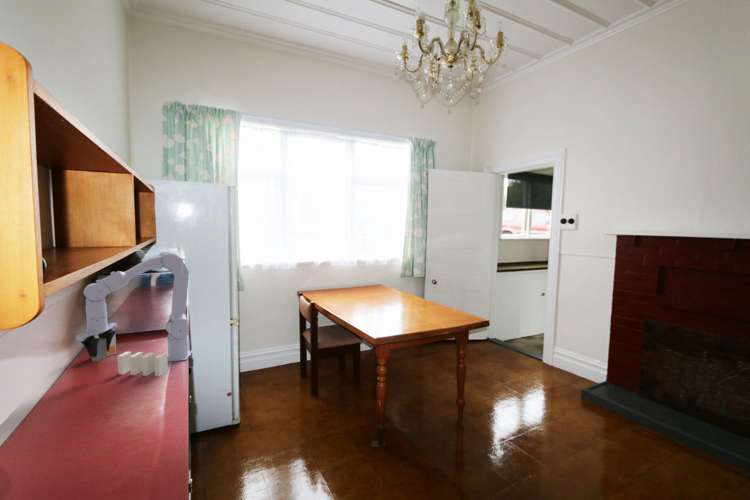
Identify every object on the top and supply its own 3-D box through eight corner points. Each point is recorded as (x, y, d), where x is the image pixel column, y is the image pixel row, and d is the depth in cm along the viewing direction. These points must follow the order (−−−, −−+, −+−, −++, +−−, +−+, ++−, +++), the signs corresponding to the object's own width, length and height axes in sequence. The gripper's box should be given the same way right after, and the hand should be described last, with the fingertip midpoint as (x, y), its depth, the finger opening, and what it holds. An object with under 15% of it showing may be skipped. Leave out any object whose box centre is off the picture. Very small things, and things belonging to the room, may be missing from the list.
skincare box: (100, 358, 138) (98, 330, 137) (94, 357, 140) (92, 329, 139) (117, 353, 144) (115, 326, 143) (111, 351, 146) (109, 324, 145)
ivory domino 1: (118, 374, 125) (117, 356, 124) (128, 369, 129) (127, 351, 129) (123, 374, 125) (121, 356, 124) (132, 369, 129) (131, 351, 129)
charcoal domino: (92, 361, 120) (90, 342, 119) (102, 356, 124) (101, 337, 124) (96, 361, 120) (95, 342, 119) (107, 356, 124) (106, 338, 123)
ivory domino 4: (155, 376, 124) (154, 357, 123) (163, 370, 128) (162, 353, 128) (159, 376, 124) (158, 357, 123) (167, 371, 128) (167, 353, 127)
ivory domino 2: (130, 374, 125) (129, 356, 124) (139, 369, 129) (138, 351, 128) (135, 375, 124) (133, 356, 124) (144, 369, 129) (143, 352, 128)
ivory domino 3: (142, 375, 124) (141, 357, 124) (151, 370, 129) (150, 352, 128) (147, 375, 124) (146, 357, 123) (156, 370, 128) (155, 352, 128)
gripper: (104, 311, 128) (106, 345, 129) (66, 322, 114) (69, 361, 115) (121, 311, 127) (123, 346, 129) (85, 323, 113) (88, 362, 114)
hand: (99, 353), depth 122 cm, fingers closed on charcoal domino, 4 cm apart
